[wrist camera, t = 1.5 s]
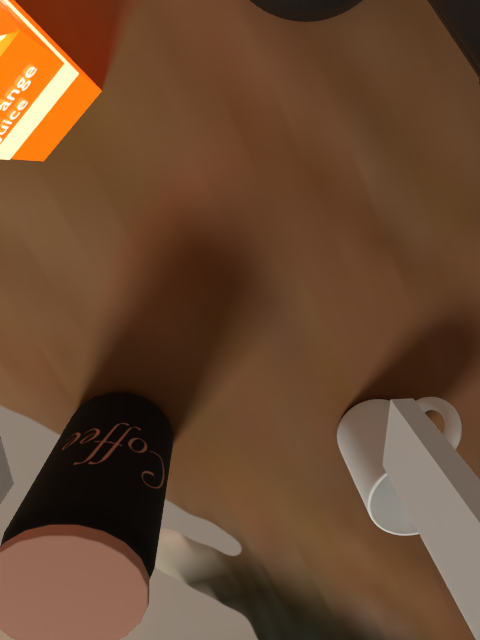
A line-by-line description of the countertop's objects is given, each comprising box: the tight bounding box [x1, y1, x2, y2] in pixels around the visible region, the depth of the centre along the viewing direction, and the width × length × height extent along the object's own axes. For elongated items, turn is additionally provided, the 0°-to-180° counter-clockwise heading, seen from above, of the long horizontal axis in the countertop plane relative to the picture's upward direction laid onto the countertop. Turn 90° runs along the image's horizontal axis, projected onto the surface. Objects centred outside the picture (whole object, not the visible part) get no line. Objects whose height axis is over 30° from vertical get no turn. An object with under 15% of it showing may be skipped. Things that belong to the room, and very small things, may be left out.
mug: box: [337, 397, 461, 535], centre depth 40 cm, size 12×8×10 cm
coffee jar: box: [0, 393, 173, 640], centre depth 35 cm, size 11×11×18 cm
